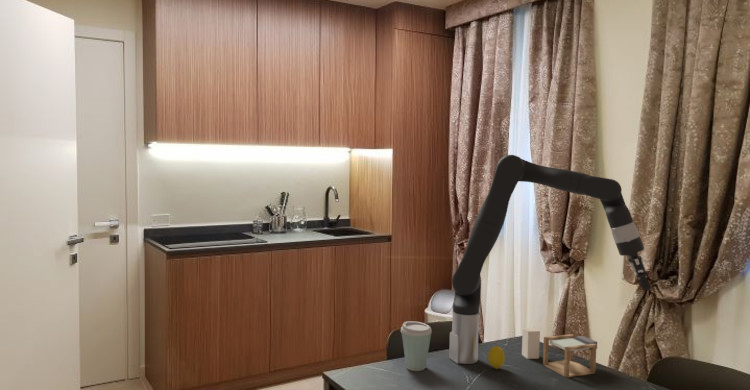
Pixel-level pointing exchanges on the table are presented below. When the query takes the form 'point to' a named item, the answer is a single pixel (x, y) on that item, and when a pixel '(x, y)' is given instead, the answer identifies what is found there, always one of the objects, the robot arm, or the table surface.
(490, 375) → the table surface
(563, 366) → the frame
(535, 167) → the robot arm
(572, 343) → the door
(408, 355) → the disposable coffee cup
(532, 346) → the block
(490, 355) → the lemon
